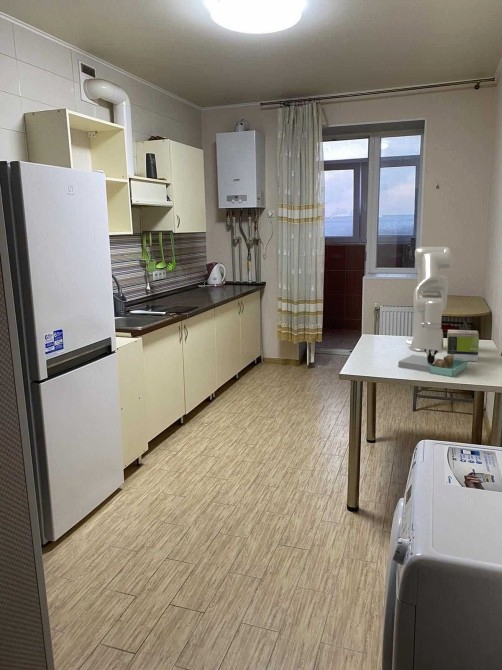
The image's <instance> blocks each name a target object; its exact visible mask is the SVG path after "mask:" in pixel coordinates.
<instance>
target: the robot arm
mask: <svg viewBox="0 0 502 670" xmlns="http://www.w3.org/2000/svg"><path fill="white" fill-rule="evenodd" d="M414 259H415V262H416V265H417V270H418V271H417V283H416V284H417V285H416V287H415V288H414V291H413V298H412V299H413V302H412V303H413V311H414V312H413V315H414V316H413V337H412V340H408V339H407V340H406V345H410V346H409V349H410V350H411V351H414V352H423V353H425V354H426V357H427V361H428V363H430V364H432V363H433V362H434V361H435V358H436V357H435V356H436V355H437V354H440V353H443V352H444V350H443V348H444V332H443V329H442V318H443V317H442V316H443V311H445V310H446V308H447V302H448V291H449V281H448V277H447V276H445V275H441V269H450V268H452V265H453V254H452V252H451V249H450V248H449V247H448V246H419V247H417V248H416V249H415V250H414ZM431 293H432V294H431ZM433 293H434V294H433Z"/></svg>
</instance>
